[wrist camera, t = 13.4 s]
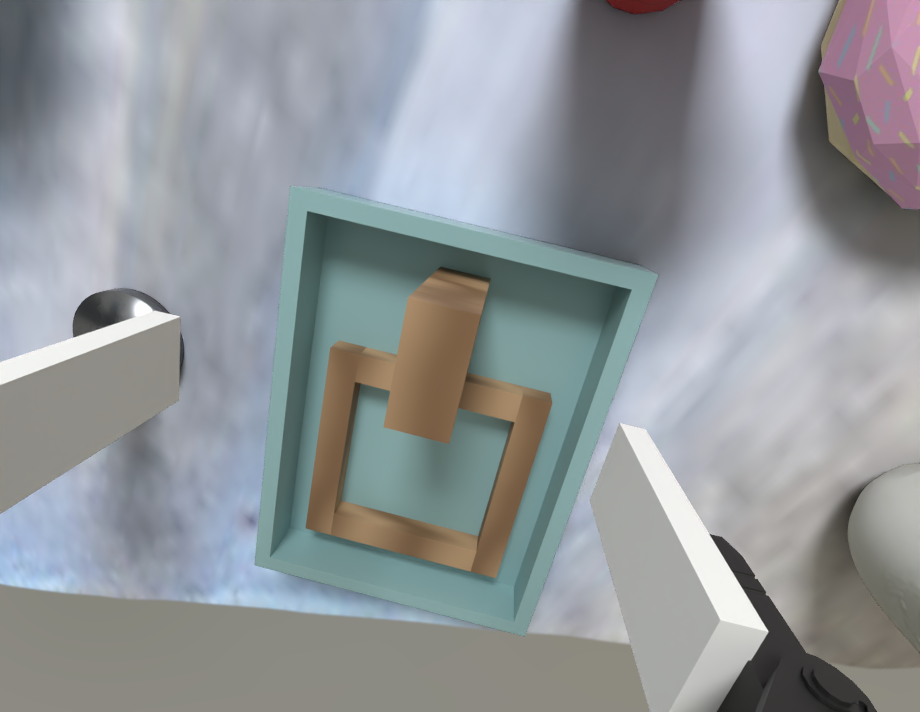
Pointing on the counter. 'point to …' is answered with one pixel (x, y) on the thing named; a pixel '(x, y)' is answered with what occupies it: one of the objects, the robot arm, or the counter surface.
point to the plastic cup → (641, 5)
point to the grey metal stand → (114, 310)
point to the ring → (426, 424)
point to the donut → (876, 91)
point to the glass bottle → (890, 545)
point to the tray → (474, 435)
